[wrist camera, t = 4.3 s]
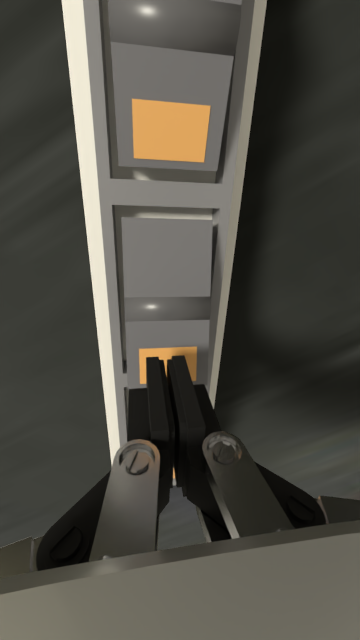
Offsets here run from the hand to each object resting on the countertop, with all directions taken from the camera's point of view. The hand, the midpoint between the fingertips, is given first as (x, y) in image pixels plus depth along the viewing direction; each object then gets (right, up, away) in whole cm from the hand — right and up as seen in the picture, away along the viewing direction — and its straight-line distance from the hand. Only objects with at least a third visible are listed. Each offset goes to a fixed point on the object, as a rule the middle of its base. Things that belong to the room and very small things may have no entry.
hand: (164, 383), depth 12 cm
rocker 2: (0, +3, +1) cm, 4 cm away
